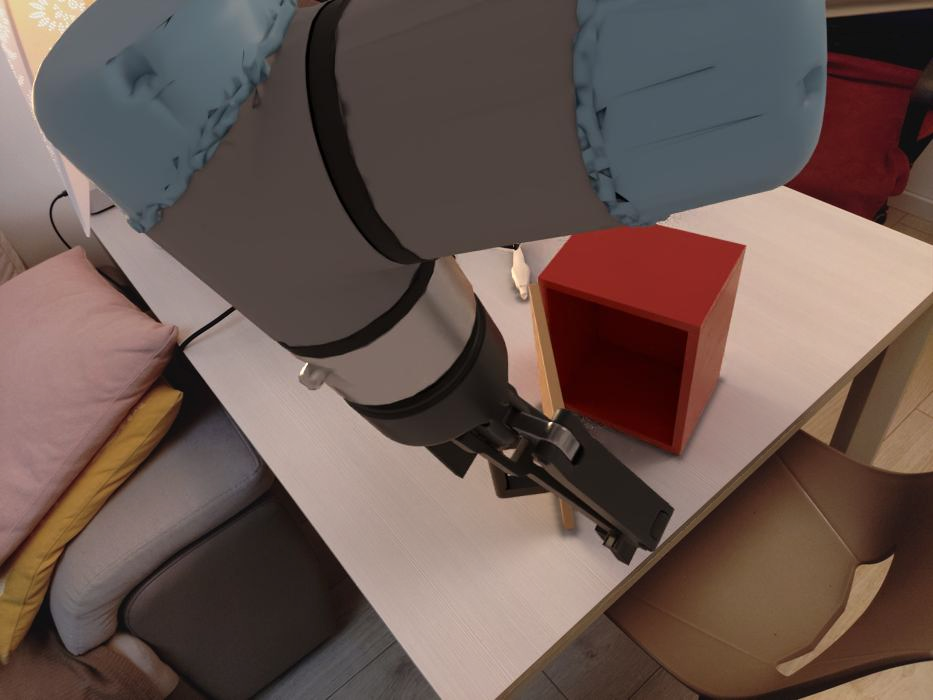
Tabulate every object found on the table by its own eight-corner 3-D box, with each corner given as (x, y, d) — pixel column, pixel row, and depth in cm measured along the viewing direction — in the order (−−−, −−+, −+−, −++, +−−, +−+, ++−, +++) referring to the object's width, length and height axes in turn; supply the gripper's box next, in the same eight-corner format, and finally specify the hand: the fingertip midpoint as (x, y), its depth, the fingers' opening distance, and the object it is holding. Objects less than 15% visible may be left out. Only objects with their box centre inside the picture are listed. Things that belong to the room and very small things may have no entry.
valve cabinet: (679, 455, 68) (700, 327, 54) (549, 402, 76) (536, 277, 61) (718, 379, 74) (746, 245, 60) (594, 337, 82) (592, 208, 67)
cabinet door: (503, 537, 65) (475, 426, 50) (490, 414, 76) (464, 294, 61) (574, 528, 64) (565, 413, 50) (550, 405, 75) (538, 282, 61)
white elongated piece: (534, 300, 88) (533, 290, 87) (515, 303, 88) (514, 293, 87) (523, 236, 98) (522, 226, 97) (506, 238, 98) (505, 229, 97)
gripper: (199, 329, 34) (389, 474, 50) (622, 543, 19) (695, 649, 35) (283, 224, 36) (438, 396, 52) (719, 346, 21) (747, 531, 38)
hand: (543, 499), depth 44 cm, fingers open, 13 cm apart
